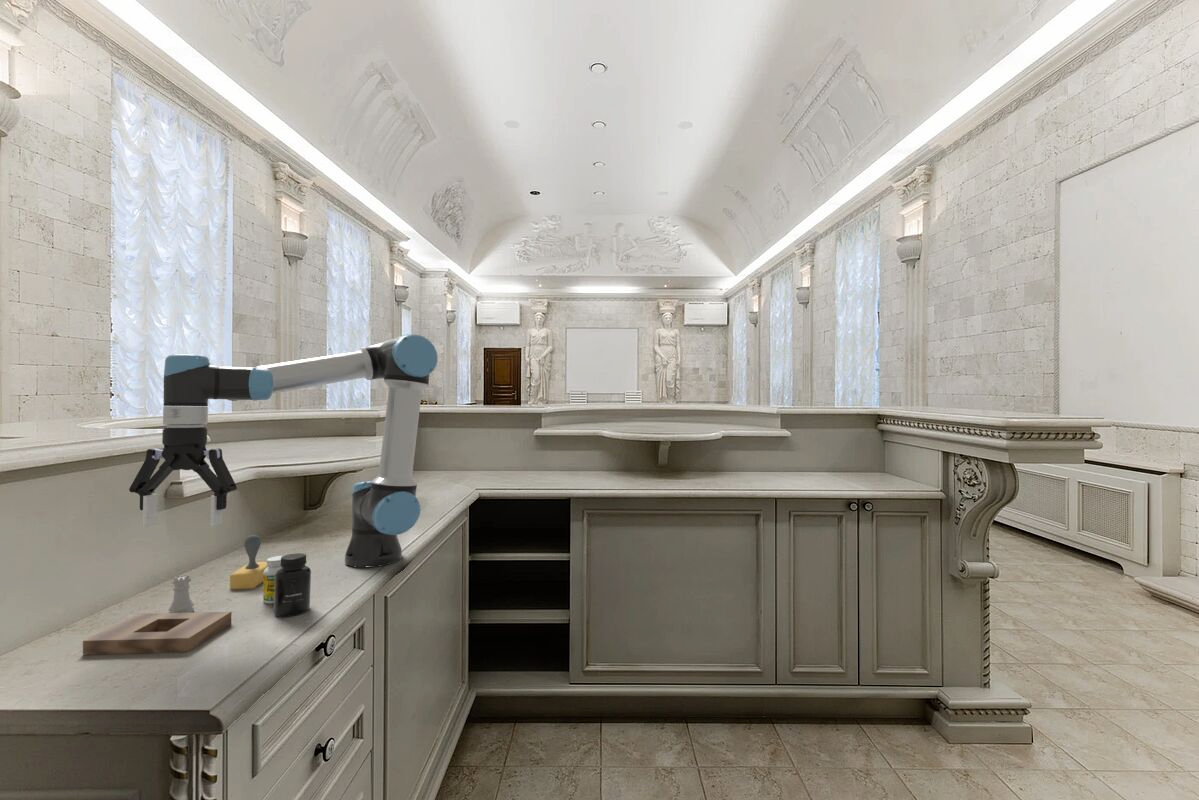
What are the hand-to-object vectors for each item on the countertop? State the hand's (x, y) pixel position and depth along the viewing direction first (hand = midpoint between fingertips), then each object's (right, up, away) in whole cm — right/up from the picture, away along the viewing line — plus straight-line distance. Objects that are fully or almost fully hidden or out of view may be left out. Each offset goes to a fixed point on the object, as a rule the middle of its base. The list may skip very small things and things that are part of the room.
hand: (183, 525), depth 110 cm
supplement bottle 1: (+15, -19, +8) cm, 26 cm away
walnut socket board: (+5, -19, -12) cm, 23 cm away
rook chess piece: (0, -19, 0) cm, 19 cm away
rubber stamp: (+1, -20, +20) cm, 28 cm away
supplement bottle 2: (+23, -19, +2) cm, 30 cm away
